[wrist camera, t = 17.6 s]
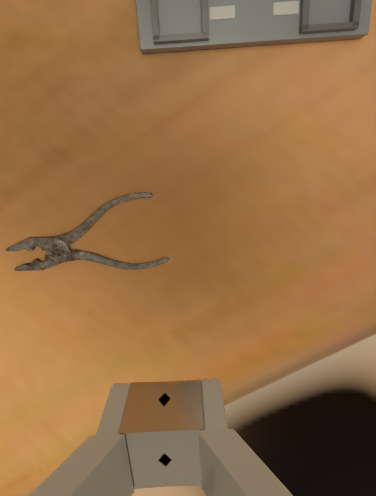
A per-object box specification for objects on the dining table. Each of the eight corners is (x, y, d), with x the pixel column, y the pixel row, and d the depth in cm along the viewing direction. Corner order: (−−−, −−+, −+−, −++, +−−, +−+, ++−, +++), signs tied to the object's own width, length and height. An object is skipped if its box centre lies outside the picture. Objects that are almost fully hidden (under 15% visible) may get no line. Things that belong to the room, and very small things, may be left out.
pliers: (181, 256, 38) (43, 313, 40) (181, 254, 39) (46, 309, 41) (146, 184, 35) (1, 249, 38) (147, 183, 36) (4, 247, 38)
